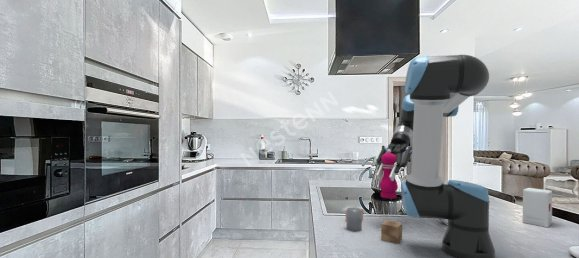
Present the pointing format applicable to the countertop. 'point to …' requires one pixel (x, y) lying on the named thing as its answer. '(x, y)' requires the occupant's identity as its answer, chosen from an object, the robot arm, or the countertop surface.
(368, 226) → the countertop surface
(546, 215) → the supplement box
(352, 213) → the charcoal canister
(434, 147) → the robot arm
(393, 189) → the pepper mill
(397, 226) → the walnut block
